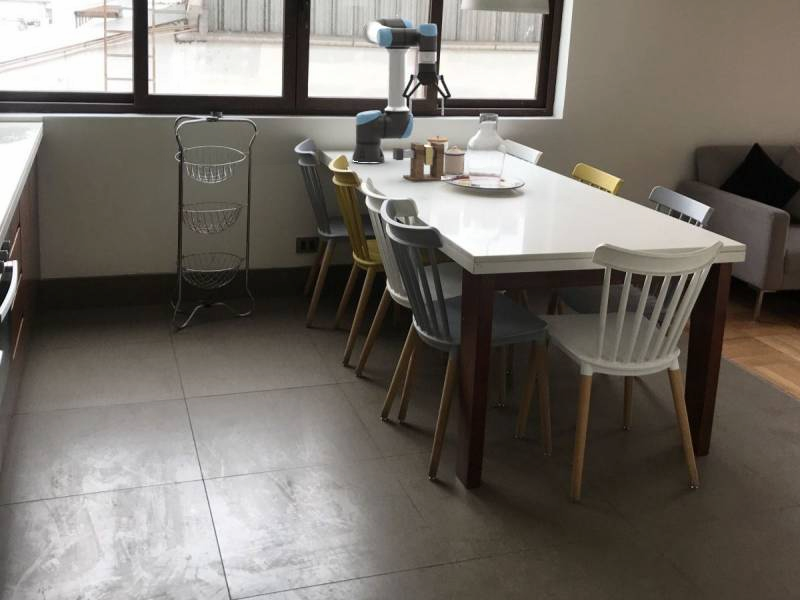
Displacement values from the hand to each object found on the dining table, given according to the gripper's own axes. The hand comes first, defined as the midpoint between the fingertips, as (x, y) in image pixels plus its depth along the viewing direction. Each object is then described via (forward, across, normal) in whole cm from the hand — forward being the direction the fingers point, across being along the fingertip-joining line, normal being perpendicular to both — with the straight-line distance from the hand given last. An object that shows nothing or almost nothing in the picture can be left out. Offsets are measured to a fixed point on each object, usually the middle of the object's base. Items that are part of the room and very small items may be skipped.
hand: (426, 114), depth 398 cm
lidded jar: (+26, +2, +72) cm, 77 cm away
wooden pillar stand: (+26, +1, -2) cm, 27 cm away
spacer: (+20, 0, -3) cm, 20 cm away
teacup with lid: (+27, +11, +17) cm, 33 cm away
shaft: (+18, -3, -4) cm, 19 cm away
